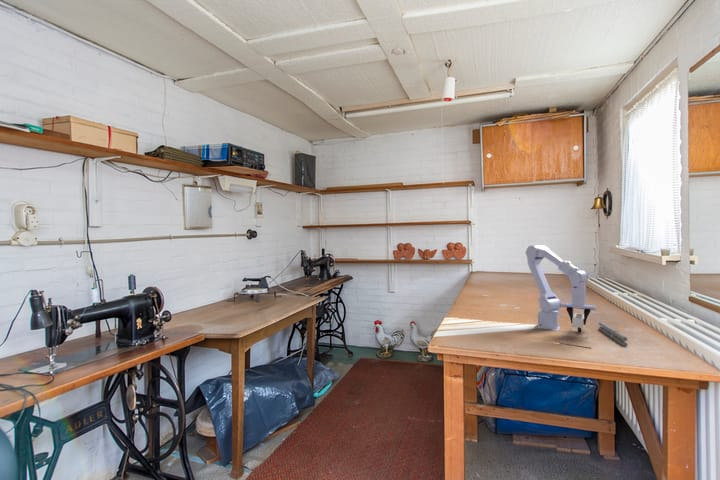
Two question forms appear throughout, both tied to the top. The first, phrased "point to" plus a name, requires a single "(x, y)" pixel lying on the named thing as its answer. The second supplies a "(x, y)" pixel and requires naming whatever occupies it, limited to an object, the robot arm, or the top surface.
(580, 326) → the steel link
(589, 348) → the rubber mat
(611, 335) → the metal rod assembly
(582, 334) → the post stand
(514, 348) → the top surface
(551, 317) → the robot arm
